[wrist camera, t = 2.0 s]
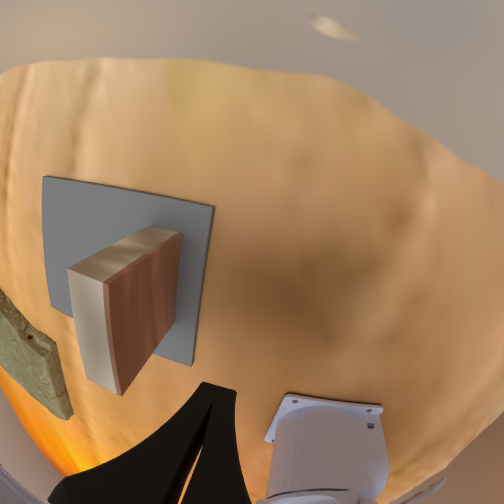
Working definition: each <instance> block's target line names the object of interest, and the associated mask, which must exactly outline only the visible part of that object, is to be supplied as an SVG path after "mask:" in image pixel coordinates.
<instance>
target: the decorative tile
mask: <svg viewBox="0 0 504 504" xmlns="http://www.w3.org/2000/svg"><path fill="white" fill-rule="evenodd" d="M0 365H1V366H2V367H3V368H4V370H5V371H6V372H7V373H8V374H9V375H10V376H11V377H12V378H13V379H14V380H15V381H16V382H17V383H18V384H19V385H20V386H22V387H23V388H24V389H25V390H26V391H27V392H28V393H29V394H30V395H31V396H32V397H33V398H35V399H36V400H37V401H38V402H40V403H41V404H42V405H44V406H45V407H46V408H47V409H48V410H49V411H50V412H51V413H52V414H54V415H55V416H56V417H58V418H60V419H64V420H66V421H67V420H69V418H70V417H71V416H72V415H73V414H74V413H73V409H72V406H71V403H70V399H69V395H68V392H67V389H66V385H65V381H64V376H63V372H62V368H61V364H60V359H59V354H58V349H57V345H56V344H55V343H54V341H53V340H52V339H51V338H50V337H48V336H47V335H46V334H44V333H42V332H40V331H38V330H37V329H36V328H34V327H33V326H32V325H31V324H30V323H29V322H28V320H26V318H25V317H24V316H23V315H22V314H21V313H20V312H19V311H18V310H17V309H16V308H15V307H14V305H13V304H12V302H11V300H10V299H9V298H8V297H6V296H5V295H4V293H3V292H2V291H1V290H0Z"/></svg>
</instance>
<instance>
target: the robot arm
mask: <svg viewBox="0 0 504 504" xmlns="http://www.w3.org/2000/svg"><path fill="white" fill-rule="evenodd" d="M236 395H237V392H236V391H235V390H232V389H228V388H224V387H221V386H217V385H213V384H210V383H207V382H202V383H201V384H200V385H199V387H198V388H197V389H196V391H195V392H194V393H193V395H192V396H191V397H190V398H189V399H188V401H187V402H186V403H185V404H184V405H183V406H182V407H181V408H180V409H179V410H178V411H177V412H176V413H175V414H174V415H173V416H172V417H171V418H170V419H169V420H168V421H167V422H166V423H165V424H164V425H162V426H161V427H160V428H159V429H158V430H157V431H155V432H154V433H153V434H152V435H150V436H149V437H148V438H146V439H145V440H144V441H142V442H141V443H139V444H138V445H136V446H135V447H133V448H131V449H130V450H128V451H126V452H125V453H123V454H121V455H120V456H118V457H116V458H114V459H112V460H110V461H108V462H106V463H103V464H101V465H99V466H97V467H94V468H92V469H89V470H86V471H83V472H80V473H77V474H74V475H71V476H67V477H65V478H64V479H63V480H62V481H61V482H60V483H59V484H58V485H57V486H56V487H55V488H54V490H53V491H52V493H51V495H50V496H49V498H48V499H47V500H48V502H49V503H50V504H178V502H179V499H180V496H181V493H182V490H183V487H184V485H185V482H186V480H187V477H188V475H189V473H190V471H191V469H192V466H193V464H194V462H195V460H196V458H197V456H198V454H199V452H200V449H201V447H202V450H201V453H200V456H199V459H198V461H197V464H196V466H195V469H194V472H193V474H192V477H191V479H190V482H189V484H188V487H187V489H186V492H185V494H184V497H183V499H182V502H181V504H252V503H251V501H250V498H249V495H248V492H247V489H246V486H245V482H244V479H243V475H242V471H241V466H240V461H239V456H238V450H237V443H236V432H235V401H236ZM382 412H383V406H381V405H369V404H357V403H348V402H339V401H332V400H324V399H318V398H311V397H305V396H299V395H294V394H286V395H285V396H284V397H283V400H282V402H281V404H280V406H279V408H278V410H277V413H276V415H275V417H274V419H273V421H272V423H271V425H270V427H269V429H268V431H267V433H266V435H265V438H264V440H265V441H266V442H270V443H274V446H273V453H272V460H271V467H270V473H269V480H268V486H267V492H266V498H265V500H257V501H256V504H377V502H376V501H374V500H375V499H376V498H377V497H378V496H379V495H380V494H381V492H382V491H383V489H384V487H385V485H386V482H387V478H388V473H389V461H388V455H387V449H386V444H385V439H384V434H383V429H382V424H381V420H380V416H379V415H380V414H381V413H382ZM202 445H203V446H202ZM0 504H44V503H43V502H42V501H40V500H39V499H38V498H37V497H35V496H34V495H33V494H32V493H31V492H29V491H28V490H27V489H26V488H25V487H23V486H22V485H21V484H20V483H19V482H18V481H17V480H15V479H14V478H13V477H12V476H11V475H10V474H9V473H8V472H7V471H6V470H5V469H4V468H3V467H2V465H1V464H0Z"/></svg>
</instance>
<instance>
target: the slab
mask: <svg viewBox="0 0 504 504" xmlns="http://www.w3.org/2000/svg"><path fill="white" fill-rule="evenodd" d="M182 237H183V233H181V232H177V231H173V230H169V229H165V228H160V227H156V226H152V225H150V226H148V227H146V228H144V229H142V230H139V231H137V232H135V233H133V234H131V235H129V236H127V237H125V238H123V239H121V240H119V241H117V242H116V243H114V244H112V245H110V246H108V247H106V248H104V249H102V250H100V251H98V252H96V253H95V254H93V255H91V256H89V257H87V258H85V259H83V260H82V261H80V262H78V263H76V264H74V265H73V266H71V267H69V268H67V271H68V281H69V290H70V298H71V305H72V312H73V318H74V324H75V329H76V334H77V339H78V344H79V348H80V353H81V357H82V361H83V365H84V369H85V373H86V376H87V379H88V380H90V381H92V382H94V383H96V384H97V385H99V386H101V387H103V388H105V389H107V390H109V391H111V392H113V393H115V394H117V395H119V396H123V394H124V393H125V391H126V390H127V388H128V387H129V386H130V384H131V383H132V381H133V380H134V378H135V377H136V376H137V374H138V373H139V371H140V370H141V369H142V367H143V366H144V364H145V363H146V362H147V360H148V359H149V357H150V356H151V355H152V353H153V352H154V350H155V349H156V348H157V346H158V345H159V343H160V342H161V341H162V339H163V338H164V337H165V335H166V334H167V332H168V331H169V330H170V328H171V327H172V326H173V324H174V323H175V309H176V296H177V284H178V274H179V264H180V255H181V246H182Z"/></svg>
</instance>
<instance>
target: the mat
mask: <svg viewBox="0 0 504 504" xmlns="http://www.w3.org/2000/svg"><path fill="white" fill-rule="evenodd" d="M214 208H215V206H211V205H206V204H202V203H197V202H192V201H187V200H182V199H177V198H172V197H167V196H162V195H157V194H152V193H147V192H141V191H136V190H130V189H125V188H119V187H114V186H108V185H102V184H96V183H90V182H84V181H77V180H71V179H65V178H58V177H51V176H43V182H42V231H43V247H44V259H45V268H46V276H47V284H48V290H49V296H50V302H51V307H53V308H55V309H57V310H59V311H61V312H62V313H64V314H66V315H68V316H70V317H72V318H73V312H72V305H71V298H70V290H69V281H68V271H67V268H69V267H71V266H73V265H74V264H76V263H78V262H80V261H82V260H83V259H85V258H87V257H89V256H91V255H93V254H95V253H96V252H98V251H100V250H102V249H104V248H106V247H108V246H110V245H112V244H114V243H116V242H117V241H119V240H121V239H123V238H125V237H127V236H129V235H131V234H133V233H135V232H137V231H139V230H142V229H144V228H146V227H148V226H150V225H152V226H156V227H160V228H165V229H169V230H173V231H177V232H181V233H183V237H182V246H181V255H180V264H179V274H178V284H177V296H176V309H175V323H174V324H173V326H172V327H171V328H170V330H169V331H168V332H167V334H166V335H165V337H164V338H163V339H162V341H161V342H160V343H159V345H158V346H157V348H156V349H155V350H154V352H153V354H156V355H159V356H161V357H164V358H167V359H170V360H173V361H176V362H179V363H182V364H185V365H188V366H192V364H193V360H194V351H195V342H196V333H197V324H198V316H199V308H200V300H201V293H202V285H203V278H204V271H205V264H206V258H207V251H208V245H209V238H210V232H211V226H212V220H213V214H214Z"/></svg>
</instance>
